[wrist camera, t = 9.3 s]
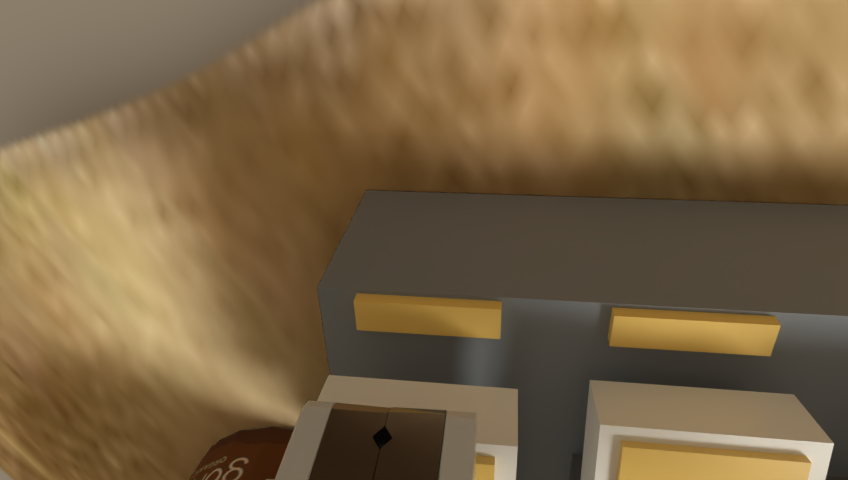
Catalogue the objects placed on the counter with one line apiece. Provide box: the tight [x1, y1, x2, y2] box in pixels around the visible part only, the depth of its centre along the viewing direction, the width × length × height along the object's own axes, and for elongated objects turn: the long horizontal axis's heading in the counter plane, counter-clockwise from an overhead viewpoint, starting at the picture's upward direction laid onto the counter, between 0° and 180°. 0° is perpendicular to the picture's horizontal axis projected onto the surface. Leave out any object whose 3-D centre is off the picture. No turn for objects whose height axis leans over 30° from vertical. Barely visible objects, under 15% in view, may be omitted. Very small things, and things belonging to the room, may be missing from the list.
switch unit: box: [317, 190, 848, 480], centre depth 17 cm, size 10×16×6 cm, turn 92°
